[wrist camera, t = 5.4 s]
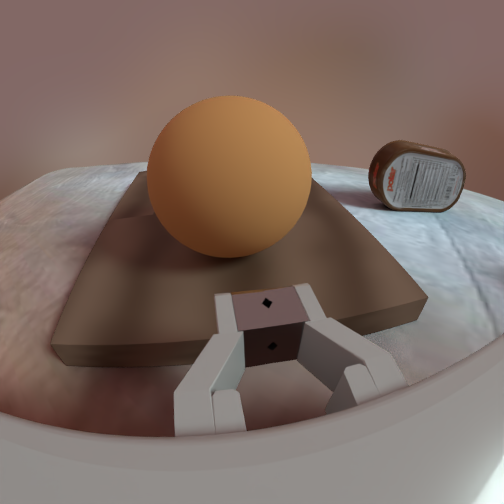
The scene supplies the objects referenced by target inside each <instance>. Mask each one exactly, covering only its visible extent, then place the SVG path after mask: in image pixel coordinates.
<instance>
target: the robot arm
mask: <svg viewBox="0 0 504 504" xmlns="http://www.w3.org/2000/svg"><path fill="white" fill-rule="evenodd" d="M214 301H215V311H216V321H217V330H218V334H214V335H212V337H211V338H210V340H209V341H208V343H207V344H206V346H205V347H204V349H203V350H202V352H201V353H200V355H199V356H198V358H197V359H196V361H195V362H194V364H193V365H192V366H191V368H190V369H189V371H188V372H187V374H186V375H185V377H184V378H183V380H182V381H181V383H180V384H179V386H178V387H177V388H176V390H175V391H174V425H175V437H141V436H123V435H111V434H101V433H93V432H85V431H78V430H72V429H67V428H61V427H56V426H51V425H47V424H42V423H38V422H34V421H30V420H26V419H23V418H19V417H16V416H12V415H9V414H6V413H3V412H0V504H504V333H503V334H502V335H501V336H499V337H498V338H496V339H495V340H493V341H492V342H490V343H489V344H487V345H485V346H484V347H482V348H481V349H479V350H477V351H476V352H474V353H473V354H471V355H469V356H467V357H466V358H464V359H462V360H460V361H459V362H457V363H455V364H453V365H451V366H449V367H448V368H446V369H444V370H442V371H440V372H438V373H436V374H434V375H432V376H430V377H428V378H425V379H423V380H421V381H419V382H417V383H415V384H412V385H410V386H409V385H408V384H407V382H406V380H405V378H404V376H403V375H402V373H401V371H400V369H399V367H398V366H397V364H396V362H395V360H394V359H393V357H392V355H391V353H389V352H388V351H386V350H384V349H383V348H381V347H379V346H378V345H376V344H374V343H373V342H371V341H369V340H368V339H366V338H364V337H363V336H361V335H359V334H358V333H356V332H354V331H353V330H351V329H349V328H348V327H346V326H344V325H343V324H341V323H339V322H338V321H336V320H334V319H333V318H331V317H330V318H326V316H325V314H324V312H323V310H322V308H321V306H320V304H319V302H318V300H317V298H316V296H315V294H314V292H313V290H312V289H311V287H310V285H309V284H308V283H304V284H297V285H292V286H285V287H277V288H269V289H262V290H251V291H240V292H231V293H220V294H214ZM296 359H297V361H298V362H299V363H300V364H301V365H303V366H304V367H305V368H306V369H307V370H308V371H309V372H310V373H312V374H313V375H314V376H315V377H316V378H317V379H318V380H320V381H321V382H322V383H323V384H324V385H325V386H327V387H328V388H329V389H330V390H331V391H332V392H334V393H333V395H332V396H331V398H330V400H329V402H328V404H327V406H326V408H325V411H326V414H327V415H324V416H320V417H316V418H312V419H308V420H304V421H300V422H295V423H291V424H286V425H281V426H275V427H270V428H264V429H258V430H251V431H247V430H246V425H245V420H244V415H243V410H242V404H241V399H240V394H239V392H237V391H236V388H237V386H238V384H239V382H240V379H241V377H242V375H243V373H244V371H245V368H246V367H252V366H258V365H264V364H270V363H276V362H283V361H290V360H296Z"/></svg>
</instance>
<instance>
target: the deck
mask: <svg viewBox="0 0 504 504" xmlns="http://www.w3.org/2000/svg"><path fill="white" fill-rule="evenodd" d="M304 283H308V284H309V285H310V287H311V289H312V290H313V292H314V294H315V296H316V298H317V300H318V302H319V304H320V306H321V308H322V310H323V312H324V314H325V316H326V318H330V317H331V318H333V319H334V320H336V321H338V322H339V323H341V324H343V325H344V326H346V327H348V328H349V329H351V330H353V331H354V332H356V333H358V334H359V335H361V336H363V335H367V334H371V333H374V332H378V331H382V330H385V329H389V328H392V327H395V326H399V325H402V324H405V323H409V322H412V321H415V320H417V319H418V317H419V315H420V313H421V311H422V309H423V307H424V305H425V303H426V301H427V299H428V296H427V295H426V294H425V293H424V291H423V290H422V289H421V288H420V287H419V285H418V284H417V283H416V282H415V281H414V280H413V278H412V277H411V276H410V275H409V274H408V273H407V272H406V271H405V269H404V268H403V267H402V266H401V265H400V264H399V263H398V262H397V261H396V259H395V258H394V257H393V256H392V255H391V254H390V253H389V252H388V251H387V250H386V249H385V248H384V247H383V246H382V245H381V243H380V242H379V241H378V240H377V239H376V238H375V237H374V236H373V235H372V234H371V233H370V232H369V231H368V230H367V229H366V228H365V227H364V226H363V225H362V224H361V223H360V222H359V221H358V220H357V219H356V218H355V217H354V216H353V215H352V214H351V213H350V212H349V211H348V210H346V209H345V208H344V207H343V206H342V205H341V204H340V203H339V202H338V201H337V200H336V199H335V198H334V197H333V196H332V195H330V194H329V193H328V192H327V191H326V190H325V189H324V188H323V187H322V186H321V185H319V184H318V183H317V182H316V181H315V180H314V179H313V178H312V180H311V189H310V194H309V197H308V201H307V204H306V207H305V209H304V211H303V213H302V215H301V217H300V218H299V220H298V221H297V223H296V224H295V225H294V227H293V228H292V229H291V230H290V231H289V232H288V233H287V234H286V235H285V236H284V237H283V238H282V239H280V240H279V241H278V242H276V243H275V244H274V245H272V246H270V247H269V248H267V249H264V250H262V251H260V252H258V253H255V254H252V255H248V256H243V257H234V258H222V257H214V256H209V255H205V254H202V253H199V252H197V251H194V250H192V249H190V248H188V247H187V246H185V245H183V244H182V243H180V242H179V241H178V240H176V239H175V238H174V237H173V236H172V235H171V234H170V233H169V232H168V231H167V230H166V229H165V227H164V226H163V225H162V224H161V222H160V221H159V219H158V217H157V216H156V214H155V212H154V209H153V207H152V204H151V202H150V198H149V194H148V187H147V171H143V172H139V173H138V175H137V176H136V178H135V179H134V181H133V182H132V184H131V185H130V187H129V188H128V190H127V191H126V193H125V194H124V196H123V197H122V199H121V200H120V202H119V204H118V205H117V207H116V208H115V210H114V212H113V213H112V215H111V217H110V218H109V220H108V222H107V223H106V225H105V227H104V229H103V230H102V232H101V234H100V236H99V238H98V239H97V241H96V243H95V245H94V247H93V249H92V250H91V252H90V254H89V256H88V258H87V260H86V262H85V264H84V266H83V268H82V270H81V272H80V274H79V276H78V278H77V280H76V282H75V285H74V287H73V289H72V291H71V293H70V296H69V298H68V300H67V302H66V305H65V307H64V309H63V312H62V314H61V317H60V319H59V322H58V324H57V327H56V329H55V332H54V335H53V337H52V340H51V343H50V345H51V346H52V347H53V349H54V350H55V351H56V353H57V354H58V356H59V357H60V358H61V360H62V361H63V362H64V363H65V365H67V366H86V367H151V366H172V365H187V364H194V362H195V361H196V359H197V358H198V356H199V355H200V353H201V352H202V350H203V349H204V347H205V346H206V344H207V343H208V341H209V340H210V338H211V337H212V335H214V334H218V330H217V321H216V311H215V301H214V294H220V293H231V292H240V291H251V290H262V289H269V288H277V287H285V286H292V285H297V284H304Z"/></svg>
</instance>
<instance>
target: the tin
mask: <svg viewBox="0 0 504 504" xmlns="http://www.w3.org/2000/svg"><path fill="white" fill-rule="evenodd" d="M368 179H369V185H370V188H371V191H372V192H373V194H374V195H375V196H376V197H377V198H378V199H379V200H381V202H382V203H383V204H385V205H386V206H387V207H389V208H390V209H393V210H396V211H419V212H444V211H446V210H448V209H450V208H451V207H452V206H453V205H454V204H455V203H456V202H457V201H458V199H459V197H460V195H461V193H462V190H463V187H464V183H465V179H466V173H465V169H464V166H463V164H462V162H461V161H460V160H459V159H458V158H457V157H455V156H454V155H452V154H451V153H450V152H448V151H447V150H444V149H440V148H436V147H432V146H427V145H422V144H418V143H414V142H409V141H403V140H398V141H393V142H390V143H388V144H386V145H385V146H383V147H382V148H381V149H380V150H379V151H378V152H377V153H376V155H375V156H374V158H373V160H372V162H371V165H370V168H369V175H368Z"/></svg>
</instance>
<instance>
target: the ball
mask: <svg viewBox="0 0 504 504" xmlns="http://www.w3.org/2000/svg"><path fill="white" fill-rule="evenodd" d="M311 180H312V171H311V164H310V158H309V154H308V151H307V148H306V145H305V143H304V141H303V139H302V137H301V135H300V134H299V132H298V131H297V129H296V128H295V127H294V126H293V124H292V123H291V122H290V121H289V120H288V119H287V118H286V117H285V116H284V115H283V114H281V113H280V112H279V111H277V110H276V109H274V108H273V107H271V106H269V105H267V104H265V103H263V102H261V101H258V100H254V99H251V98H247V97H241V96H219V97H213V98H209V99H205V100H202V101H200V102H197V103H195V104H193V105H191V106H189V107H188V108H186V109H184V110H182V111H181V112H180V113H179V114H177V115H176V116H175V117H174V118H173V119H172V120H171V121H170V122H169V123H168V124H167V125H166V126H165V127H164V129H163V130H162V132H161V133H160V134H159V136H158V138H157V140H156V142H155V144H154V146H153V148H152V151H151V154H150V157H149V162H148V166H147V187H148V194H149V198H150V202H151V204H152V207H153V209H154V212H155V214H156V216H157V217H158V219H159V221H160V222H161V224H162V225H163V226H164V227H165V229H166V230H167V231H168V232H169V233H170V234H171V235H172V236H173V237H174V238H175V239H176V240H178V241H179V242H180V243H182V244H183V245H185V246H187V247H188V248H190V249H192V250H194V251H197V252H199V253H202V254H205V255H209V256H214V257H222V258H234V257H243V256H248V255H252V254H255V253H258V252H260V251H262V250H264V249H267V248H269V247H270V246H272V245H274V244H275V243H276V242H278V241H279V240H280V239H282V238H283V237H284V236H285V235H286V234H287V233H288V232H289V231H290V230H291V229H292V228H293V227H294V225H295V224H296V223H297V221H298V220H299V218H300V217H301V215H302V213H303V211H304V209H305V207H306V204H307V201H308V197H309V194H310V189H311Z"/></svg>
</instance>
